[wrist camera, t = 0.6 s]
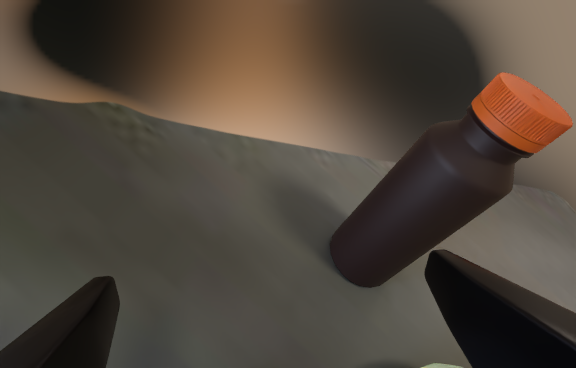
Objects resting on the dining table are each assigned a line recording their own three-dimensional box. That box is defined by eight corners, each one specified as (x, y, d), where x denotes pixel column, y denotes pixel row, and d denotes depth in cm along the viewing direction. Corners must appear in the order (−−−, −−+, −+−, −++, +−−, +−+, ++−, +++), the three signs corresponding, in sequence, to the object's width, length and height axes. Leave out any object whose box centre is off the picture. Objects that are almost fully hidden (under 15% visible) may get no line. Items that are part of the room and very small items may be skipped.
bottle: (396, 289, 32) (612, 148, 18) (337, 289, 29) (534, 124, 15) (375, 230, 36) (536, 78, 22) (322, 225, 33) (465, 50, 19)
